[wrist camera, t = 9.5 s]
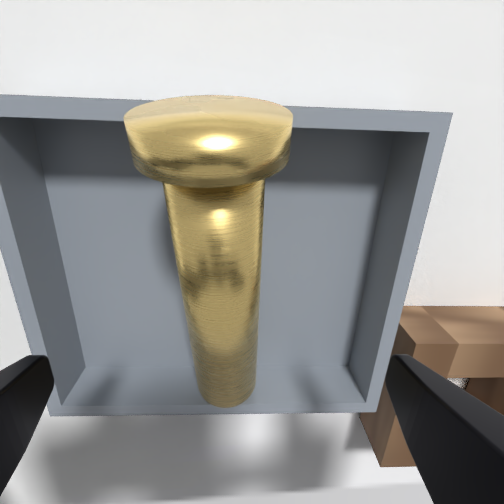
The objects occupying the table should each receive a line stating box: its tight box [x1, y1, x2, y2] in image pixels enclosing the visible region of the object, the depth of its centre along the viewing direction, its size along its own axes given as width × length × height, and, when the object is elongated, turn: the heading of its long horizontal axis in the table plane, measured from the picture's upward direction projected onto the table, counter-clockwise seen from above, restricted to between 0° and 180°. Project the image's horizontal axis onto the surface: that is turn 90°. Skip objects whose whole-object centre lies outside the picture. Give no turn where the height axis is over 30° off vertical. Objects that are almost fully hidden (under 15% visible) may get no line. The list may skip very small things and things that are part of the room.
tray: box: [0, 94, 453, 416], centre depth 13 cm, size 15×13×3 cm
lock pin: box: [123, 95, 293, 408], centre depth 11 cm, size 4×4×12 cm
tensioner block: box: [360, 306, 504, 467], centre depth 16 cm, size 8×8×3 cm
